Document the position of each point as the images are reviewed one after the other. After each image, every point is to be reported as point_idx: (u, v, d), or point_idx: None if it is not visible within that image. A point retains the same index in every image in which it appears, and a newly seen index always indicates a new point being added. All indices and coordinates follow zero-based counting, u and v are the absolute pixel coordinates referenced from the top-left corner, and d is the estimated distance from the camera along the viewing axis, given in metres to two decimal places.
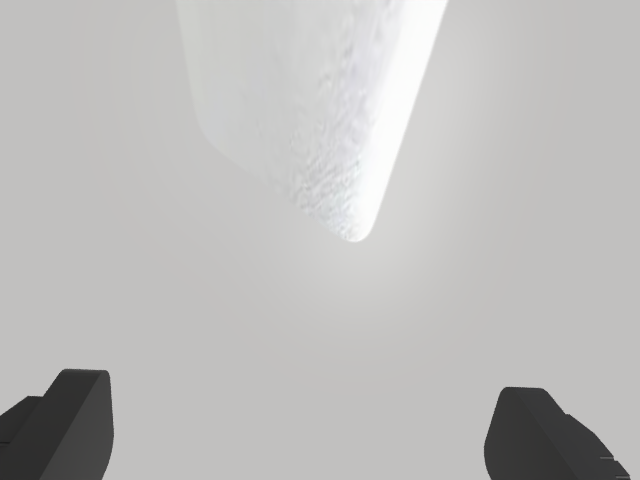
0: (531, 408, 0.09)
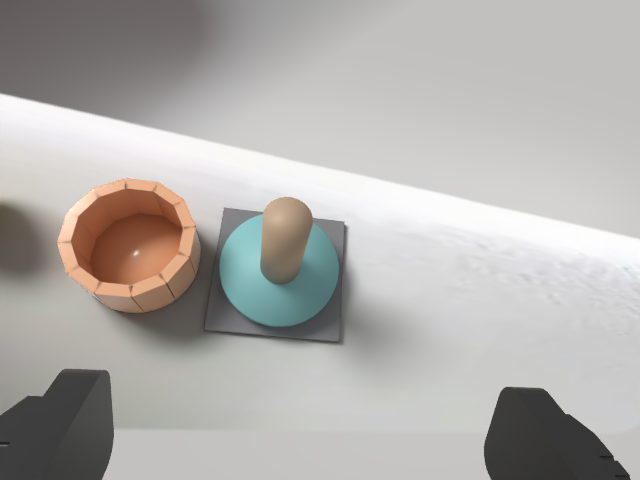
0: (531, 408, 0.09)
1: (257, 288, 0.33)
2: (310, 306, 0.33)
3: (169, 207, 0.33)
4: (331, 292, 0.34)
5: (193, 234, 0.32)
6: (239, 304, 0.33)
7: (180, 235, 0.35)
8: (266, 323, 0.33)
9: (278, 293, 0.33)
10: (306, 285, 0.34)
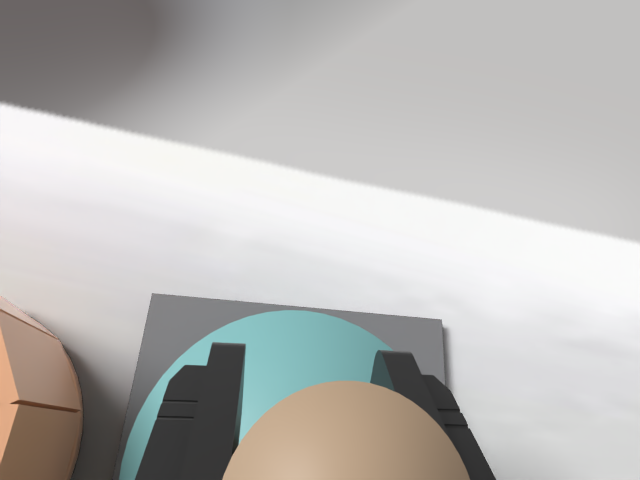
0: (390, 367, 0.09)
1: None
2: None
3: None
4: None
5: (9, 431, 0.10)
6: None
7: None
8: None
9: None
10: None
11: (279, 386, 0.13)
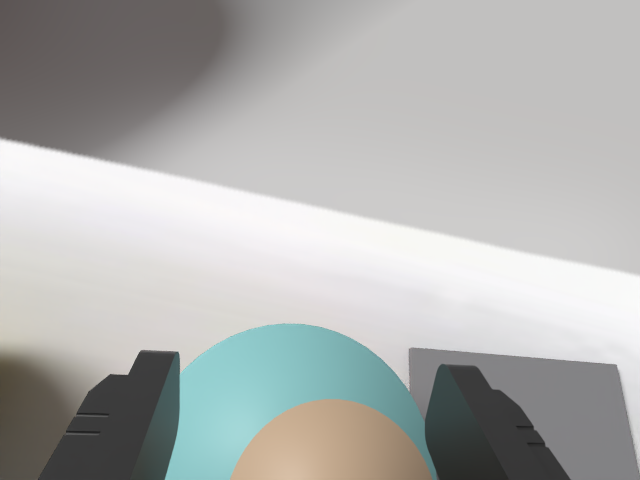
0: (459, 382, 0.09)
1: None
2: None
3: None
4: None
5: None
6: None
7: None
8: None
9: None
10: None
11: (277, 394, 0.14)
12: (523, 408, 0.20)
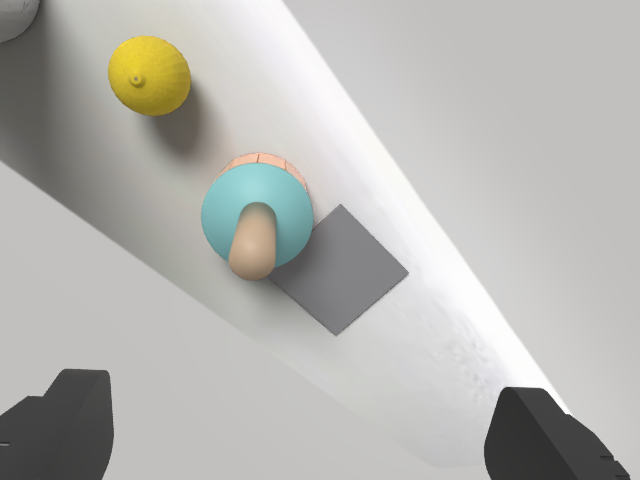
0: (531, 408, 0.09)
1: (227, 223, 0.37)
2: None
3: None
4: (278, 264, 0.38)
5: None
6: (205, 225, 0.37)
7: None
8: (216, 250, 0.38)
9: None
10: None
11: (271, 196, 0.36)
12: (359, 255, 0.44)
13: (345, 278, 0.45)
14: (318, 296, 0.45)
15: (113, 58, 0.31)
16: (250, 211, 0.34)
